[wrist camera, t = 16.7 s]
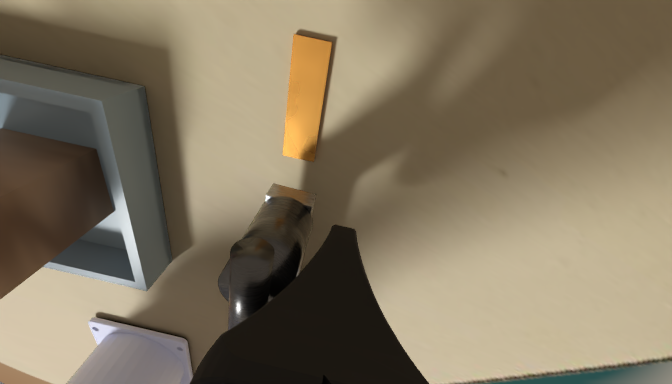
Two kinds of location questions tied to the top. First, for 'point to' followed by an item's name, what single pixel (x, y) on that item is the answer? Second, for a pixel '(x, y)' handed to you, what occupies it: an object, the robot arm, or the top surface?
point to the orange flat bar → (305, 96)
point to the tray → (115, 158)
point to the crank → (267, 252)
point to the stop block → (45, 201)
